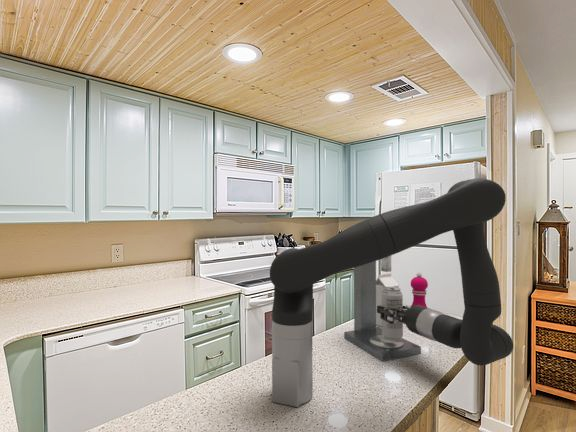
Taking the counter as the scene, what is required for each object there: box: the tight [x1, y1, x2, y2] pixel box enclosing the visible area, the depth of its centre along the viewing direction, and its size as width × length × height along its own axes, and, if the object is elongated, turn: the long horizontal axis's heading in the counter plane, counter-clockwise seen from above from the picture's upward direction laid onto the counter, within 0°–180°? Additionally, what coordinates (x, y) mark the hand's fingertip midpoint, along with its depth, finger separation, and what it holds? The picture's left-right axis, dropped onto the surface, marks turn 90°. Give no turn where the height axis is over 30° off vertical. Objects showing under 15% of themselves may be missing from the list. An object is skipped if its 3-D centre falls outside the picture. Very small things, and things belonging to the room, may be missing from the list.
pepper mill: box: [410, 272, 429, 308], centre depth 125 cm, size 7×7×20 cm
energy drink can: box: [381, 287, 404, 341], centre depth 102 cm, size 6×6×15 cm
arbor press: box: [343, 255, 422, 362], centre depth 109 cm, size 20×22×34 cm
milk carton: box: [376, 272, 400, 328], centre depth 128 cm, size 7×7×19 cm
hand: (386, 307), depth 104 cm, fingers closed on energy drink can, 6 cm apart
